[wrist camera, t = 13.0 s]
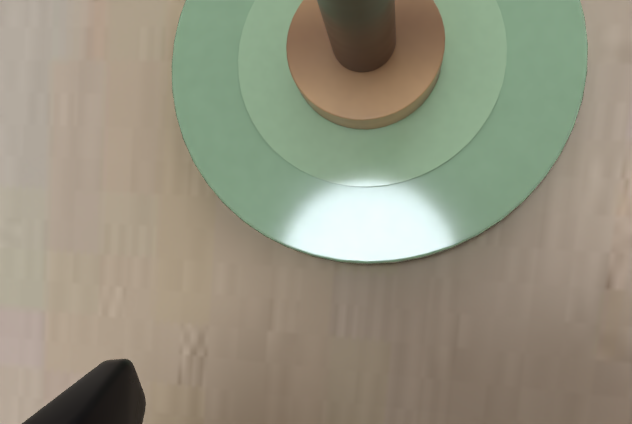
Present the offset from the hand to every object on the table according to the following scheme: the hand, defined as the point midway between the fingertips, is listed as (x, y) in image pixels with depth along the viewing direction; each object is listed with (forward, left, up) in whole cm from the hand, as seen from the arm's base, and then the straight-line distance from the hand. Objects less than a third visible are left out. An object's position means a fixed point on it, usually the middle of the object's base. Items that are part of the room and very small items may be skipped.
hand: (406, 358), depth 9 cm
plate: (+8, +2, -10) cm, 13 cm away
